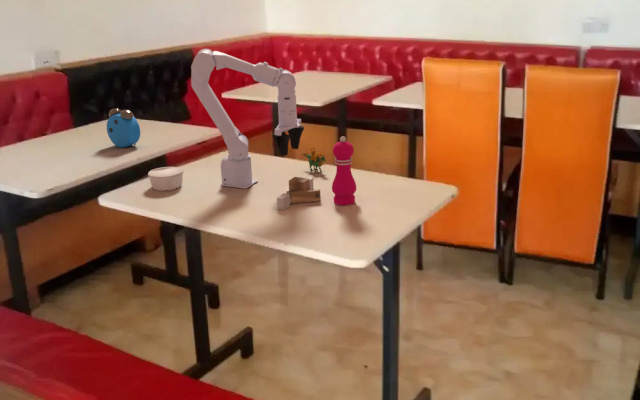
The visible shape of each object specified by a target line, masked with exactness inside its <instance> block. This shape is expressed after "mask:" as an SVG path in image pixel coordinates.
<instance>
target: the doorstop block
mask: <svg viewBox="0 0 640 400" xmlns="http://www.w3.org/2000/svg"><path fill="white" fill-rule="evenodd" d="M308 190H310V179H309V178H307V177H301V176H294V177H292V178H291V179H289V180H288V191H289V192H299V191H308ZM290 201H291V194H290Z"/></svg>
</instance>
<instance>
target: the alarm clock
mask: <svg viewBox="0 0 640 400" xmlns="http://www.w3.org/2000/svg"><path fill="white" fill-rule="evenodd" d="M108 116H109V117H108V119H107V121H106V133H107V135H108V138H109V140H110V141H111V143H112V144H113V145H114V146H116V147H117V148H120V149H121V148H126V147H130V146H133V145H134V146H135V145H136V146H137V143H138V142H139V141H140V138H141V128H140V123H139V122H138V120H137V119H136V117H135V116H134V114H133V112H132V111H131V110H130V109H122V110H121V109H119V108H112V109H110V110H109V112H108Z"/></svg>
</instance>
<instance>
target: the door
mask: <svg viewBox="0 0 640 400" xmlns="http://www.w3.org/2000/svg"><path fill="white" fill-rule="evenodd" d="M290 194H291V200H290V205H291V204H300V203H301V204H302V203H311V202H320V201H321V199H322V198H321V190H320V189H312V190H308V191H299V192H290Z"/></svg>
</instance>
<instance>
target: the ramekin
mask: <svg viewBox="0 0 640 400" xmlns="http://www.w3.org/2000/svg"><path fill="white" fill-rule="evenodd" d="M183 174H184V169H183V168H182V167H180V166H179V167H178V166H164V167H163V166H162V167H157V168H154V169H151V170H150V171H148V173H147V176H148V178H149V182H150V184H151V187H152V189H153V190H155V191H158V190H161V191H160V192H165V191H164V190H169V191H173V189H174V190H177V189H179V188H180V187H182V185H183V178H184V177H183ZM176 188H177V189H176Z"/></svg>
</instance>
